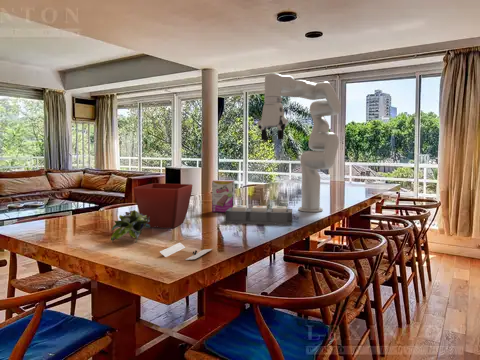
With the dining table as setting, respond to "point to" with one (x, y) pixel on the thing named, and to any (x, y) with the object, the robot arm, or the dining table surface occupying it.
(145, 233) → the dining table surface
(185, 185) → the plant pot
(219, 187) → the candy bar box
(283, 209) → the key sage
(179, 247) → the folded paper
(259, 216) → the grey button panel
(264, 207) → the key terracotta
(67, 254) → the dining table surface
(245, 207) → the key slate
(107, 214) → the dining table surface
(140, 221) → the green leaves
